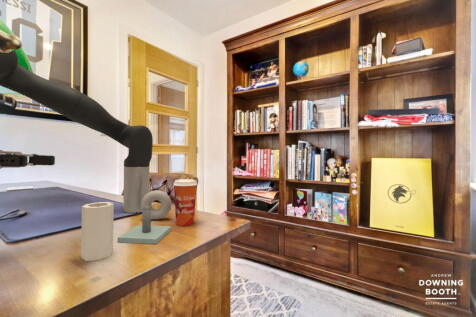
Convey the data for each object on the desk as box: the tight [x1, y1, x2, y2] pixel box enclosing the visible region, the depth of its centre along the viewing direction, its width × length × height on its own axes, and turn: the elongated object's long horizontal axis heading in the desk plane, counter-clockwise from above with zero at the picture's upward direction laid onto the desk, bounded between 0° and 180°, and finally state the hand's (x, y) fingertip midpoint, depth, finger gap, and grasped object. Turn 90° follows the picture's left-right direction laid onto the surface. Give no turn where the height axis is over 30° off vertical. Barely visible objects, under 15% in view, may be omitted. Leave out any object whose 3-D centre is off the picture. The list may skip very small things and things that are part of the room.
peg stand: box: [116, 206, 172, 245], centre depth 60 cm, size 10×10×8 cm
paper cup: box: [173, 178, 199, 227], centre depth 71 cm, size 8×8×14 cm
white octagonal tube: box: [80, 201, 115, 262], centre depth 48 cm, size 5×5×11 cm
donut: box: [141, 189, 172, 221], centre depth 75 cm, size 10×4×10 cm, turn 97°
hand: (41, 160), depth 46 cm, fingers open, 8 cm apart
